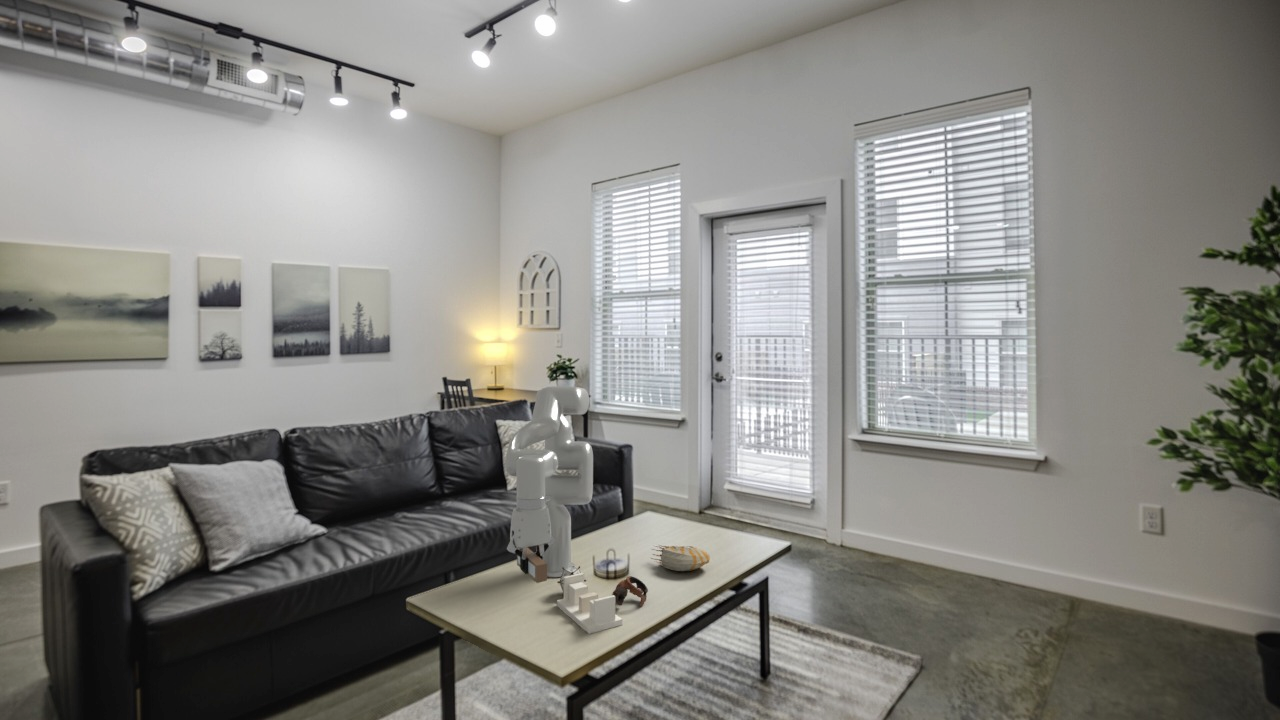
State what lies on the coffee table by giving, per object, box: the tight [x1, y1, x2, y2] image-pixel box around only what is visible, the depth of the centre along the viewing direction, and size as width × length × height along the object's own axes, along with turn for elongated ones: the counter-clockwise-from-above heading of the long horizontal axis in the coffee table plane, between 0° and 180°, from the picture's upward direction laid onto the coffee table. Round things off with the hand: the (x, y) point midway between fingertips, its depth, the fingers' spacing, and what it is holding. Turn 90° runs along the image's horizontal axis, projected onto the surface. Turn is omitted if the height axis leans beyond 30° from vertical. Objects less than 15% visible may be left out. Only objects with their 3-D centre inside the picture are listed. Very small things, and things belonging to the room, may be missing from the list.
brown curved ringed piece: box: [611, 575, 649, 607], centre depth 180 cm, size 12×10×8 cm
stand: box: [556, 572, 623, 635], centre depth 173 cm, size 20×10×8 cm, turn 32°
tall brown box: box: [516, 547, 548, 584], centre depth 166 cm, size 14×3×4 cm, turn 32°
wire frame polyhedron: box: [556, 565, 588, 598], centre depth 186 cm, size 9×8×10 cm
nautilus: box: [650, 544, 711, 572], centre depth 209 cm, size 8×22×15 cm
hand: (531, 570), depth 166 cm, fingers closed on tall brown box, 3 cm apart
